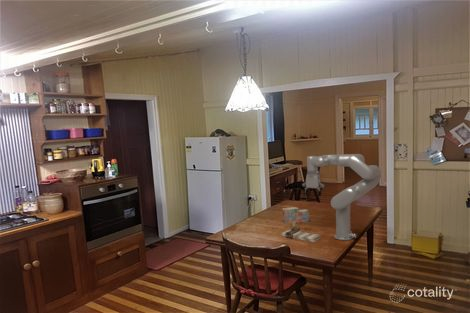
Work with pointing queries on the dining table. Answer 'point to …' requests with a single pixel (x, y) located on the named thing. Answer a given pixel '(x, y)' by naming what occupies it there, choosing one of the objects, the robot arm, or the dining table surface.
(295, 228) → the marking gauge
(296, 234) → the birch board
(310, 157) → the robot arm
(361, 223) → the dining table surface
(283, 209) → the stack of blocks
